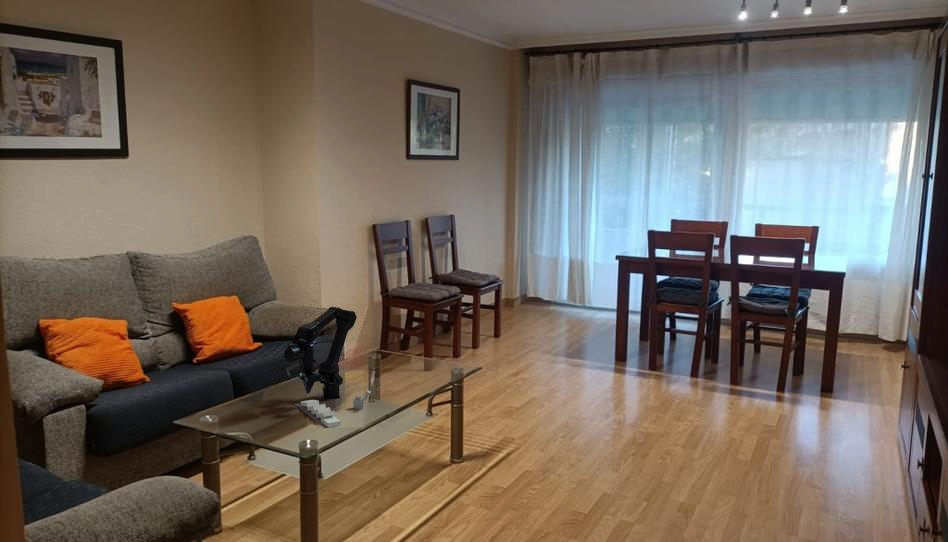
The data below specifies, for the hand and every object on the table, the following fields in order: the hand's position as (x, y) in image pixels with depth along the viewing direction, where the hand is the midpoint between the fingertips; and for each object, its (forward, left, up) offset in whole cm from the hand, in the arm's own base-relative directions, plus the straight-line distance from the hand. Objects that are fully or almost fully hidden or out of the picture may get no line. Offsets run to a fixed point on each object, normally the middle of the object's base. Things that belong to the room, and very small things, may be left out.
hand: (307, 393), depth 292 cm
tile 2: (-2, +11, -4) cm, 12 cm away
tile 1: (-1, +6, -4) cm, 7 cm away
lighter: (-20, +11, -6) cm, 24 cm away
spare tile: (0, -2, -4) cm, 5 cm away
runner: (-2, +9, -6) cm, 11 cm away
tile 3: (-3, +16, -4) cm, 17 cm away
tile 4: (-4, +21, -4) cm, 22 cm away
